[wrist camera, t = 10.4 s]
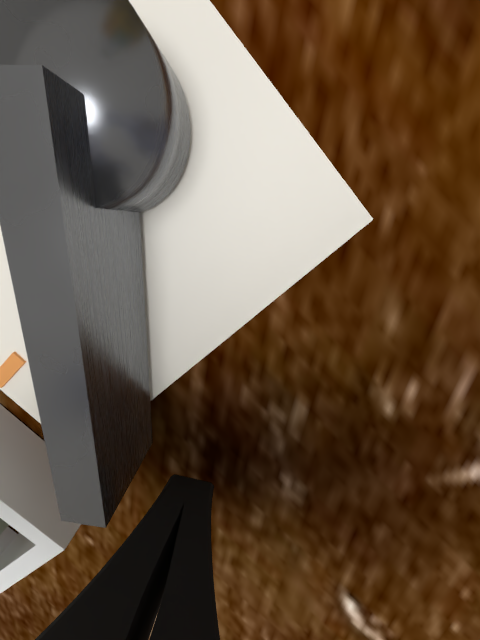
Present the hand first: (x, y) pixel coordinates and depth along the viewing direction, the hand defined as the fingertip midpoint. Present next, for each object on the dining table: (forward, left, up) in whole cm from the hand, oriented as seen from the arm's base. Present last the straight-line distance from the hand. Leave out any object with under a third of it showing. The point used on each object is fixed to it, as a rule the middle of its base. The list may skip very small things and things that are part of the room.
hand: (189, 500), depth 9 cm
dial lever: (-3, -6, -1) cm, 7 cm away
